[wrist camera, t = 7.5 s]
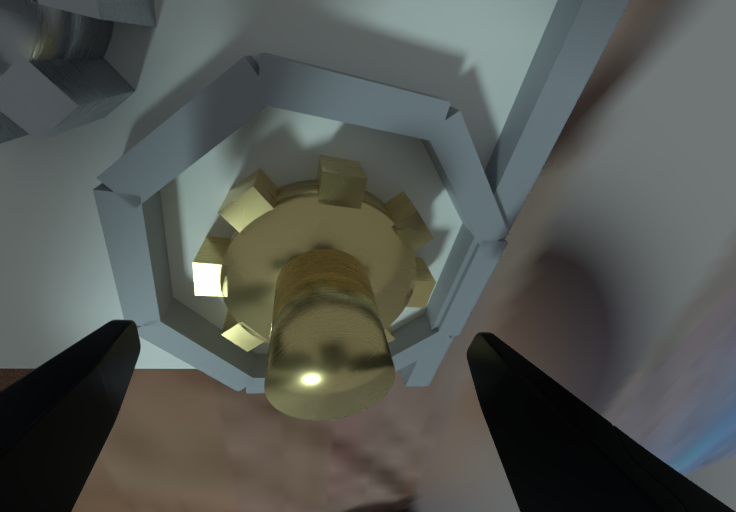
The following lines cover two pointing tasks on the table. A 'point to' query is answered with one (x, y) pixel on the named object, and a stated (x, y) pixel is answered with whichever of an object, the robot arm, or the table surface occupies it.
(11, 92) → the sun gear
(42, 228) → the carrier
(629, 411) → the table surface
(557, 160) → the table surface
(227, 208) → the planet gear
